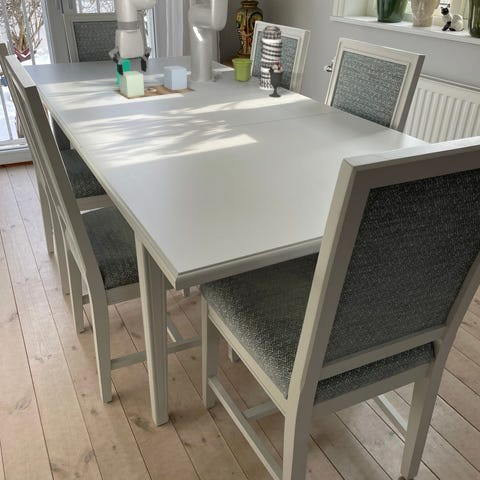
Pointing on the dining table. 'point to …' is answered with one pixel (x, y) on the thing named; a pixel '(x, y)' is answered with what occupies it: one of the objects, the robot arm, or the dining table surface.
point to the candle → (125, 68)
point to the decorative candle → (269, 54)
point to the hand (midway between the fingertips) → (132, 72)
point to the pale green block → (131, 83)
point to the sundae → (276, 77)
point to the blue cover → (175, 77)
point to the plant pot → (242, 69)
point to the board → (156, 91)
